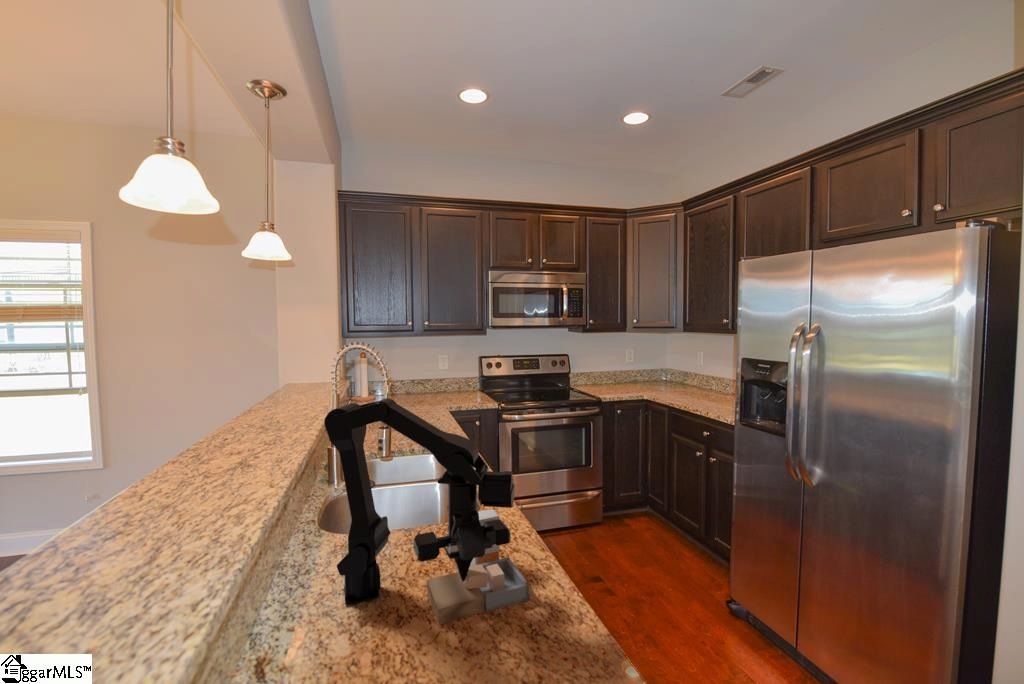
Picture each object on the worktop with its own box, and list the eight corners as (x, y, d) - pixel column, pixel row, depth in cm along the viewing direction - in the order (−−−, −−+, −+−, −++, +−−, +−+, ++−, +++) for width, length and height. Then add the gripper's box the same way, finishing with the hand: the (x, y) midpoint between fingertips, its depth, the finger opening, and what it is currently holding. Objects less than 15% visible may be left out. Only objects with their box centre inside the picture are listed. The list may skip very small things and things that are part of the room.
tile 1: (467, 589, 86) (469, 576, 86) (462, 578, 89) (463, 566, 89) (486, 586, 87) (488, 574, 87) (480, 576, 91) (481, 564, 91)
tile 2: (492, 576, 87) (504, 573, 88) (486, 566, 91) (497, 563, 92) (493, 595, 88) (504, 592, 89) (486, 584, 91) (497, 581, 92)
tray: (486, 612, 84) (486, 596, 83) (469, 581, 94) (469, 566, 93) (529, 599, 87) (529, 584, 87) (508, 571, 97) (508, 557, 97)
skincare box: (475, 573, 97) (474, 520, 96) (469, 563, 101) (468, 513, 100) (500, 566, 99) (499, 515, 98) (493, 557, 103) (493, 508, 102)
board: (438, 625, 80) (438, 609, 80) (427, 593, 89) (426, 579, 89) (484, 611, 84) (484, 596, 84) (468, 582, 93) (468, 569, 93)
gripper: (424, 530, 75) (424, 617, 76) (521, 512, 83) (521, 592, 83) (412, 505, 86) (413, 582, 86) (500, 491, 93) (500, 562, 94)
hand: (462, 580), depth 87 cm, fingers closed
